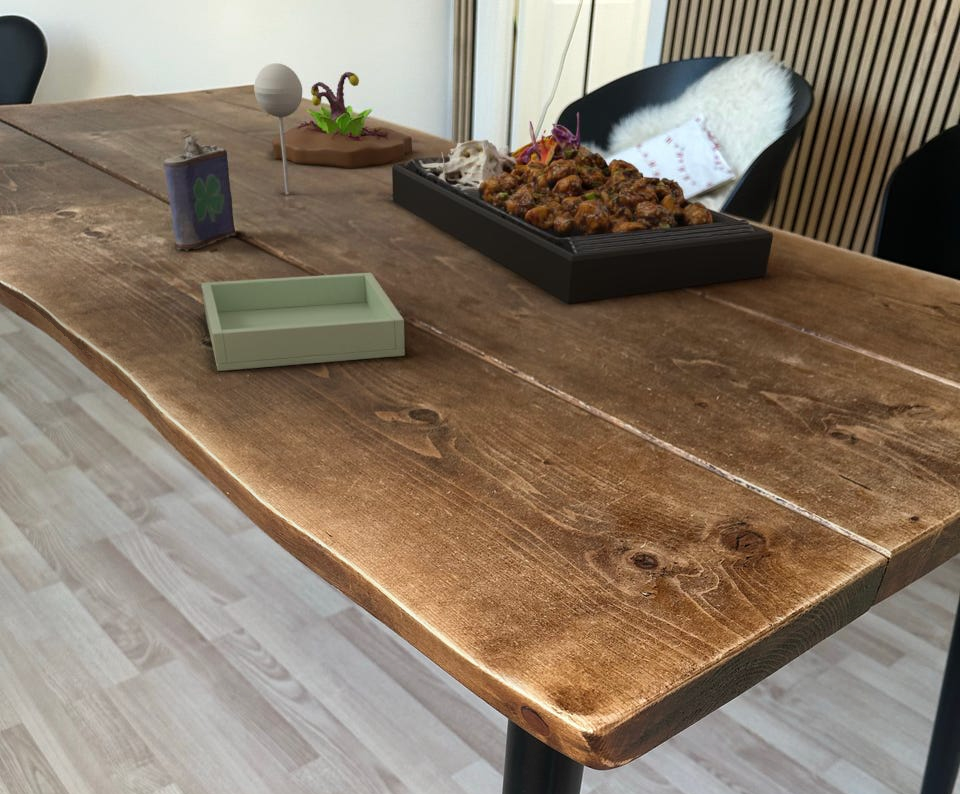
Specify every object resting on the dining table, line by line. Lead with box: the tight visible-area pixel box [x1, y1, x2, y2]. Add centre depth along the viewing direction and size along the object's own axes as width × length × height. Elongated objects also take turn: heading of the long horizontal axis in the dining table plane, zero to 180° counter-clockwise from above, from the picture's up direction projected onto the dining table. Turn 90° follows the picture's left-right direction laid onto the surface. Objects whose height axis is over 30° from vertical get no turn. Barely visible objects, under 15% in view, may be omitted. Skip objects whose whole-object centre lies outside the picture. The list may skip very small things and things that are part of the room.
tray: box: [200, 272, 406, 372], centre depth 84 cm, size 16×14×3 cm
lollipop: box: [253, 62, 303, 195], centre depth 123 cm, size 6×6×15 cm
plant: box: [271, 71, 413, 169], centre depth 146 cm, size 20×20×11 cm
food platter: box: [391, 111, 774, 305], centre depth 112 cm, size 45×25×10 cm, turn 26°
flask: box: [163, 133, 237, 252], centre depth 106 cm, size 9×3×11 cm, turn 154°
